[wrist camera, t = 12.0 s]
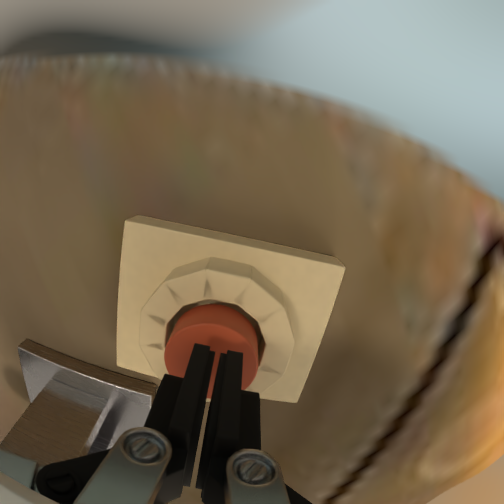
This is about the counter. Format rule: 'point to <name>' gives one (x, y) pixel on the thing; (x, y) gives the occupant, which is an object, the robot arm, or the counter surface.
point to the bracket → (73, 407)
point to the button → (212, 340)
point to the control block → (224, 297)
